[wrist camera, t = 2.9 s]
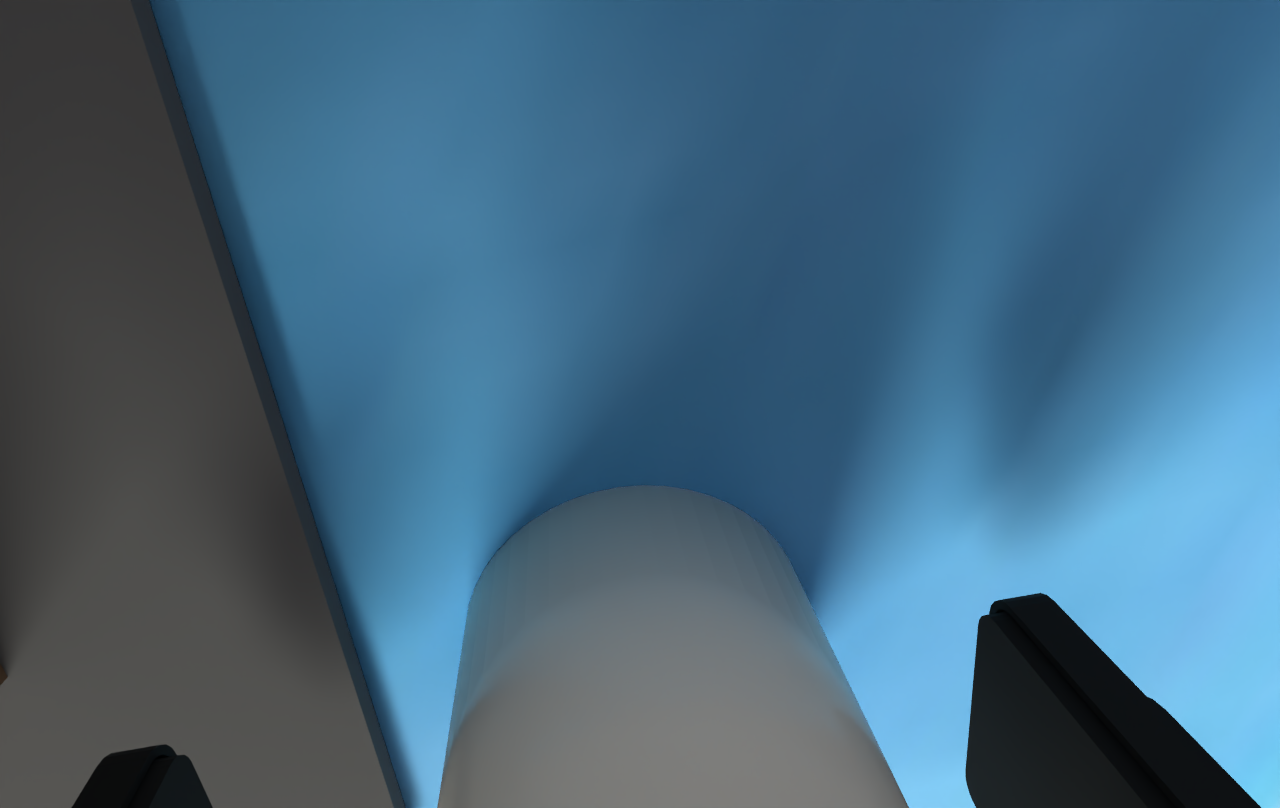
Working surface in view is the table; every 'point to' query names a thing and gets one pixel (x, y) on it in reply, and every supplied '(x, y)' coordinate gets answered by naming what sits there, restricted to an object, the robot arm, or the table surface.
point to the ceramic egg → (652, 669)
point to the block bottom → (2, 675)
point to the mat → (148, 457)
